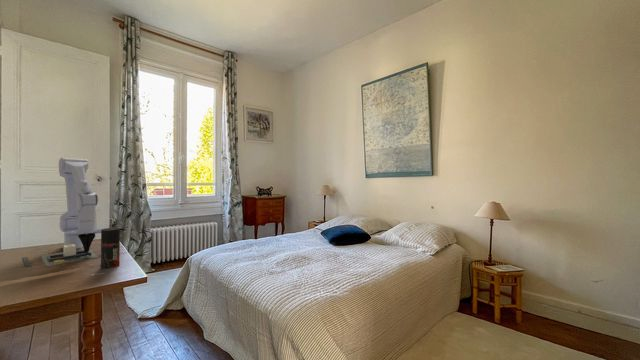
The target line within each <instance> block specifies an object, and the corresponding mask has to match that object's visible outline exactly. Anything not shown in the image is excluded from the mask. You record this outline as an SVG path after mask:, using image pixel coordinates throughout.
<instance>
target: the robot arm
mask: <svg viewBox="0 0 640 360" xmlns="http://www.w3.org/2000/svg"><path fill="white" fill-rule="evenodd" d="M88 169H89V161H88V159H87V158H73V157H72V158H71V157H60V158H59V161H58V172H59V176H60V177H62V178H64V181H65V182H64V183H65V191H66V192H65V194H66V207H67V211H65V212H64V213H62V214H61V216H60V217H59V230H60V231H61V232H63V237H64V242H63V243H64V244H63V246H65V245H70V244H71V245H73V244H75V245H76V250H78V249H81V248H82V249H84V251H85V252H86V251H89V249H90V248H91V245H92V242H93V241H94V240H95V238H96V234H101V230H102V229H105V228H106V227H101V228H100V227H99V228H96V206H97V205H98V203H99V198H98V194H97V193H96V191H94V190H93V187H92V185H91V182H90V181H88V180H87V177H86V173H87V171H88ZM90 250H91V249H90Z"/></svg>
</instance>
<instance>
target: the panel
mask: <svg viewBox="0 0 640 360" xmlns="http://www.w3.org/2000/svg"><path fill="white" fill-rule="evenodd" d="M40 258H41V259H42V261H43V262H44V265H45V267H51V266H55V265H60V264H61V265H62V264H67V263H72V262H79V261H85V260H92V259H97V258H99V256H98V255H97V254H96V252H94V251H92V250H91V249H89V251H86V252H85V251H84V248H82V249H81V248H80V249H76V255H71V256H65V257H64V256H63V251H62V252H55V253H48V254H47V253H46V254H40Z"/></svg>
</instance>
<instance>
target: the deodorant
mask: <svg viewBox="0 0 640 360" xmlns="http://www.w3.org/2000/svg"><path fill="white" fill-rule="evenodd" d="M104 228H105V229H102V230H101V233H100V269H103V270H107V269H114V268H117V267H120V258H121V257H120V254H121V253H120V246H121V244H120V243H121V242H120V241H121V235H120V234H121V228H120V227H104Z"/></svg>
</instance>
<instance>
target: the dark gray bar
mask: <svg viewBox="0 0 640 360" xmlns="http://www.w3.org/2000/svg"><path fill="white" fill-rule="evenodd" d="M22 261H23V263H24V266H25V268H28V267H31V266H32V264H31V262H30V260H29V257H28V256H24V257H22Z"/></svg>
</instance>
